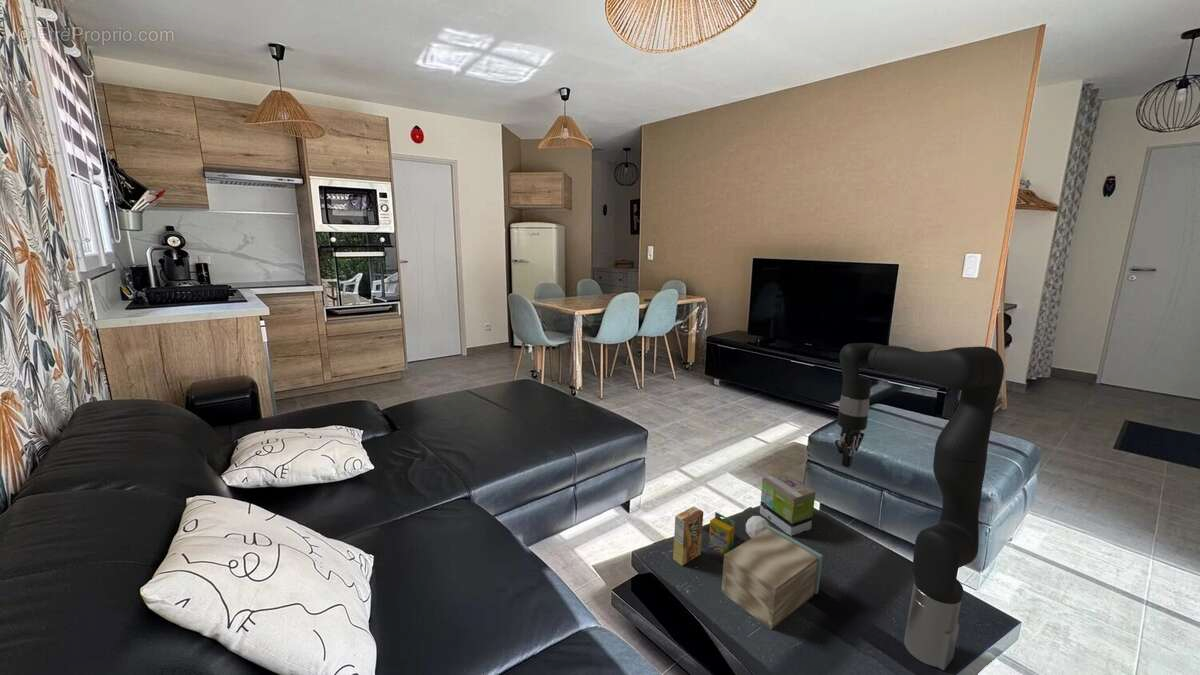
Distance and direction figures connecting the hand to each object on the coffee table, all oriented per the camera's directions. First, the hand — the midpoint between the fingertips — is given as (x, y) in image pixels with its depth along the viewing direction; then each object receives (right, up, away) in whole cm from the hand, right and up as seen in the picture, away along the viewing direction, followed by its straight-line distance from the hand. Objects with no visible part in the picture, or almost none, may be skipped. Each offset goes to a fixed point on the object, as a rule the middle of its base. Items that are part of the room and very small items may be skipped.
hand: (846, 466), depth 139 cm
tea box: (-8, -27, +27) cm, 39 cm away
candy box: (-46, -31, +8) cm, 56 cm away
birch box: (-26, -34, -7) cm, 43 cm away
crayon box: (-35, -30, +11) cm, 47 cm away
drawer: (-25, -33, -6) cm, 42 cm away
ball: (-21, -29, +17) cm, 40 cm away
